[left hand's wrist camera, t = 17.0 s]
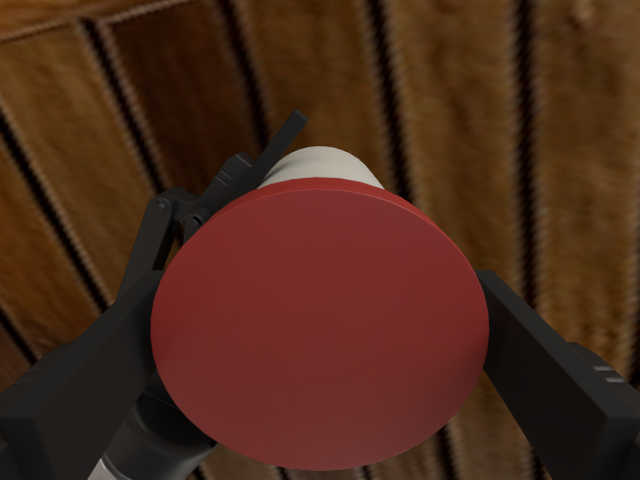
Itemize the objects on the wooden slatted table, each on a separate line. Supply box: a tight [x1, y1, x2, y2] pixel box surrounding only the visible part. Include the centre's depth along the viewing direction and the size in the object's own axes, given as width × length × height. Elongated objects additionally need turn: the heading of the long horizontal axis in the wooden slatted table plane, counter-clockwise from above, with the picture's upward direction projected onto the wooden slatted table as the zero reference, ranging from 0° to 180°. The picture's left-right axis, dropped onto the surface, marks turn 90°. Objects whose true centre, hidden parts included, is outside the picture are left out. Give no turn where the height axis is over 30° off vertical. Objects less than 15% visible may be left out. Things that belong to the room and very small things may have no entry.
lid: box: [151, 177, 489, 471], centre depth 11 cm, size 10×10×2 cm
